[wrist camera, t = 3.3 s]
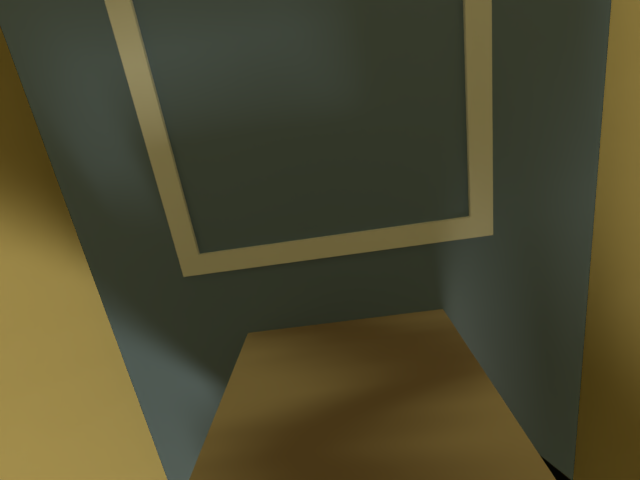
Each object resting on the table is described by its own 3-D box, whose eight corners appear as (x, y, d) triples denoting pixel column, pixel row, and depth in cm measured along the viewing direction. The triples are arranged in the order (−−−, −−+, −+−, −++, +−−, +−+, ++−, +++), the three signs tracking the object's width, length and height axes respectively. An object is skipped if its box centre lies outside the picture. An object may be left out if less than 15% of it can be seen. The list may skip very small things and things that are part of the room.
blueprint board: (589, -248, 6) (642, -324, 5) (542, 614, 14) (560, 655, 12) (-13, -116, 7) (-73, -160, 6) (244, 634, 14) (237, 674, 13)
